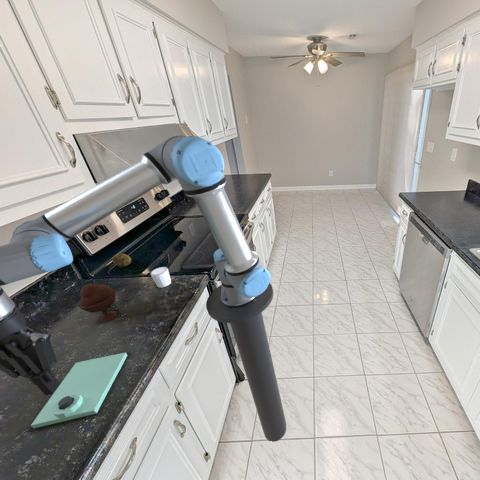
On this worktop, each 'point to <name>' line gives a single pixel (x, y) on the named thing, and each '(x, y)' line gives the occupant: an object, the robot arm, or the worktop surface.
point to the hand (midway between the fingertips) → (53, 389)
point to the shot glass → (161, 276)
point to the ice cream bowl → (98, 300)
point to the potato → (121, 260)
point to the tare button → (65, 402)
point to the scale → (82, 390)
